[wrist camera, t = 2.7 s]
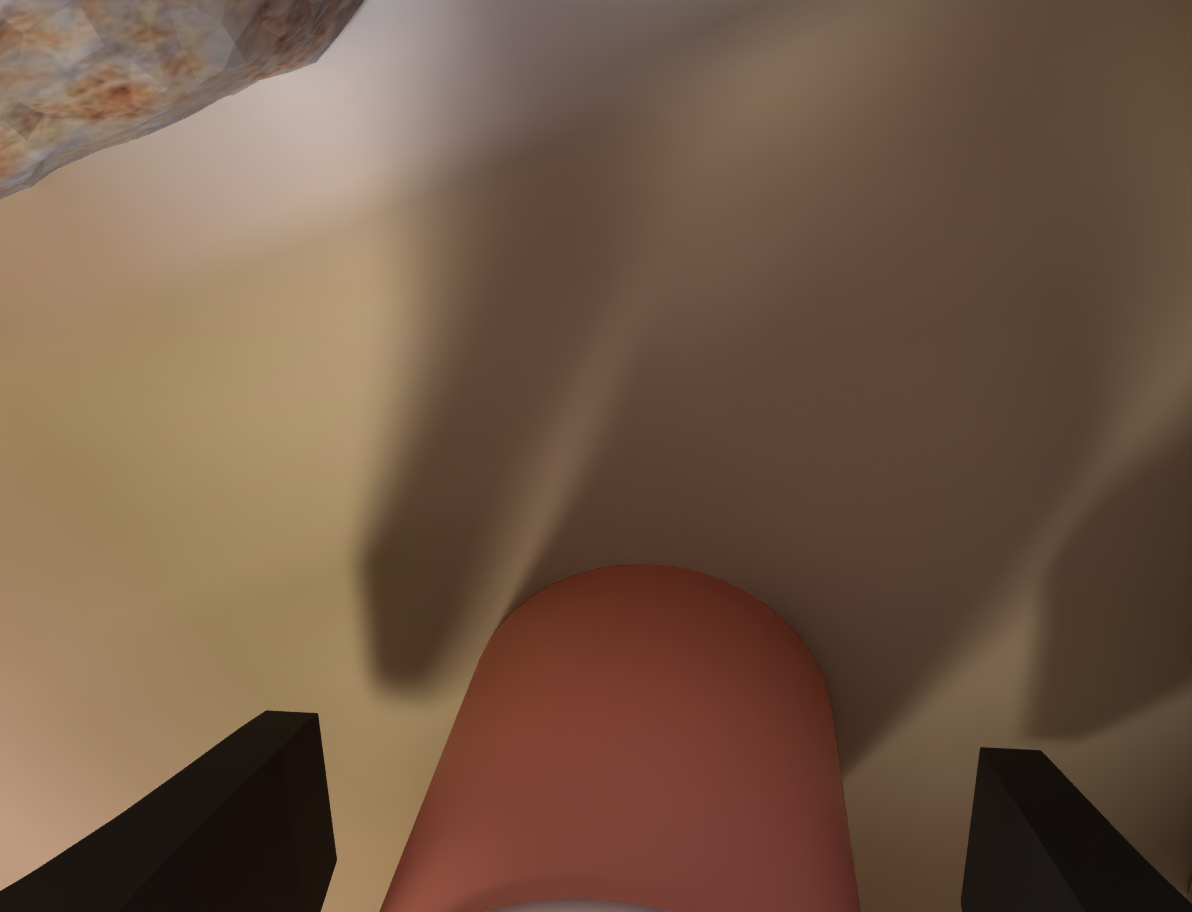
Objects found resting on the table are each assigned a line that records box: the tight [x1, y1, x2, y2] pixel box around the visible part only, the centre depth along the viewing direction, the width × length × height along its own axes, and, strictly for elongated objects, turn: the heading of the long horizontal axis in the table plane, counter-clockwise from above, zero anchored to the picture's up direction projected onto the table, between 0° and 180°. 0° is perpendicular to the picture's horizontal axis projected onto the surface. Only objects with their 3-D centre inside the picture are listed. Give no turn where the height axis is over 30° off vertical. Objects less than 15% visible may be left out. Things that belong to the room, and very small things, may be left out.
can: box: [380, 565, 860, 912], centre depth 11 cm, size 4×4×6 cm
